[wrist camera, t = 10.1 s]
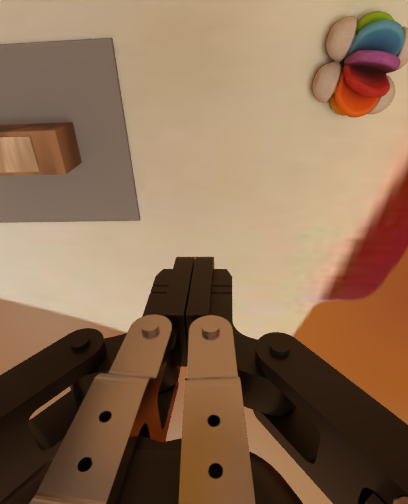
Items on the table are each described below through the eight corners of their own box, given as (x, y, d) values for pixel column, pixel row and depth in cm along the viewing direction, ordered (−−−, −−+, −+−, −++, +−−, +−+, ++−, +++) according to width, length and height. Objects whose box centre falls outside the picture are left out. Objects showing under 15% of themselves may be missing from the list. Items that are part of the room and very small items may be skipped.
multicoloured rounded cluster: (302, 104, 40) (316, 114, 33) (335, 4, 35) (358, -6, 28) (371, 120, 40) (398, 133, 34) (413, 23, 35) (453, 17, 29)
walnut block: (81, 162, 44) (-5, 164, 45) (72, 122, 42) (-19, 125, 43) (65, 175, 40) (-31, 177, 41) (53, 130, 37) (-49, 134, 38)
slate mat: (-6, 221, 50) (-7, 222, 50) (-74, 48, 39) (-77, 48, 39) (140, 219, 48) (139, 220, 48) (112, 38, 37) (111, 38, 37)
